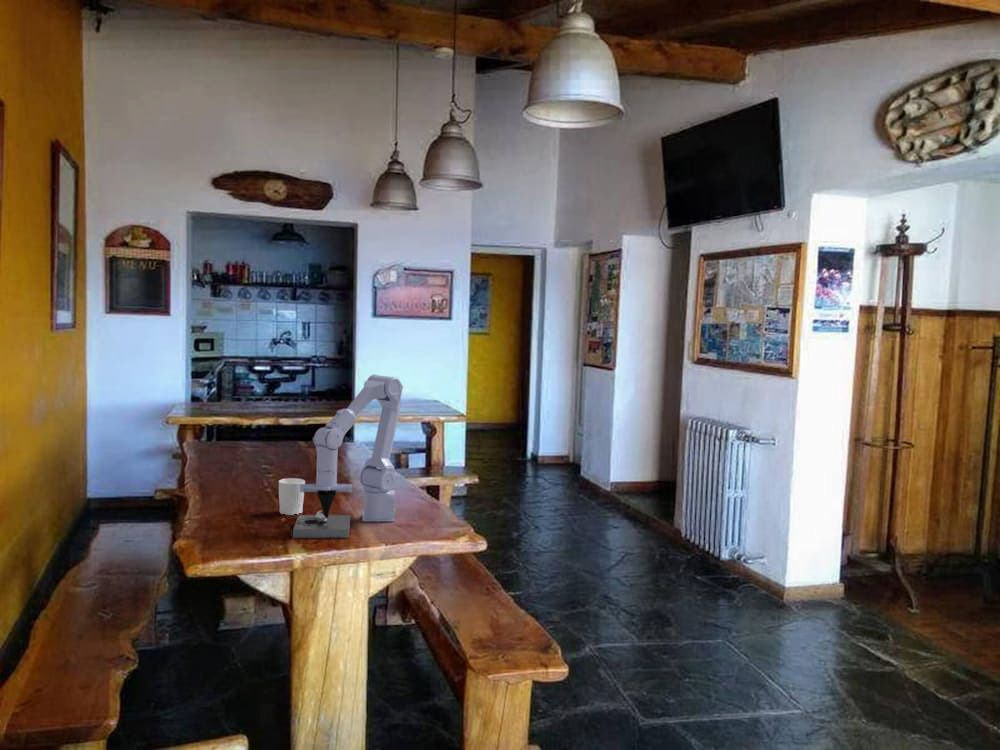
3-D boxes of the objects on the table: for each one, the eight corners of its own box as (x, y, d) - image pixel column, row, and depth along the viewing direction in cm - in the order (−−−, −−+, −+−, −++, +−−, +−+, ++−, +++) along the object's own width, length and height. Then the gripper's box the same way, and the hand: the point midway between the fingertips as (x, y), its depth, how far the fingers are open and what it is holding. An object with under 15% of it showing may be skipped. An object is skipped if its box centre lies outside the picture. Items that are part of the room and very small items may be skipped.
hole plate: (350, 523, 224) (350, 515, 223) (348, 538, 209) (348, 529, 209) (298, 523, 221) (298, 515, 221) (292, 538, 206) (293, 529, 206)
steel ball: (322, 506, 216) (313, 514, 216) (322, 509, 213) (313, 517, 212) (330, 515, 217) (321, 523, 216) (330, 518, 213) (321, 526, 213)
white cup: (277, 516, 228) (278, 483, 227) (277, 509, 235) (278, 478, 235) (304, 515, 230) (305, 483, 229) (303, 509, 238) (304, 478, 237)
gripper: (299, 472, 208) (298, 520, 209) (352, 472, 211) (350, 520, 212) (301, 467, 215) (300, 514, 216) (353, 468, 218) (351, 514, 219)
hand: (325, 516), depth 214 cm, fingers closed, pressing on steel ball
